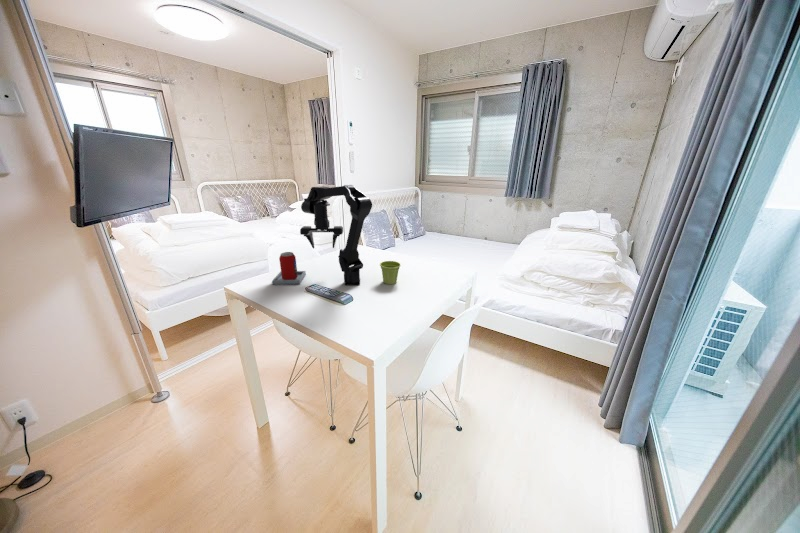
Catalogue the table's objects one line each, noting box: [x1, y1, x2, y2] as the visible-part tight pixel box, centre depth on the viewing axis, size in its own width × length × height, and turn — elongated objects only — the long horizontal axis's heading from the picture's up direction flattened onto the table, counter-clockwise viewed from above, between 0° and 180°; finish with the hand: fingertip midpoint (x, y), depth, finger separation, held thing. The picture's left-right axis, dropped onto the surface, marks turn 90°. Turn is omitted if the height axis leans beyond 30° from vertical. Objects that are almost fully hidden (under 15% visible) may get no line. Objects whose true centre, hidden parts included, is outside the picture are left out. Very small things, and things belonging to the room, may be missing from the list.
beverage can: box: [279, 251, 298, 280], centre depth 123 cm, size 7×7×12 cm
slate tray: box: [271, 270, 307, 286], centre depth 125 cm, size 12×12×2 cm
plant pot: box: [379, 260, 402, 285], centre depth 124 cm, size 9×9×9 cm
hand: (323, 248), depth 129 cm, fingers open, 9 cm apart
